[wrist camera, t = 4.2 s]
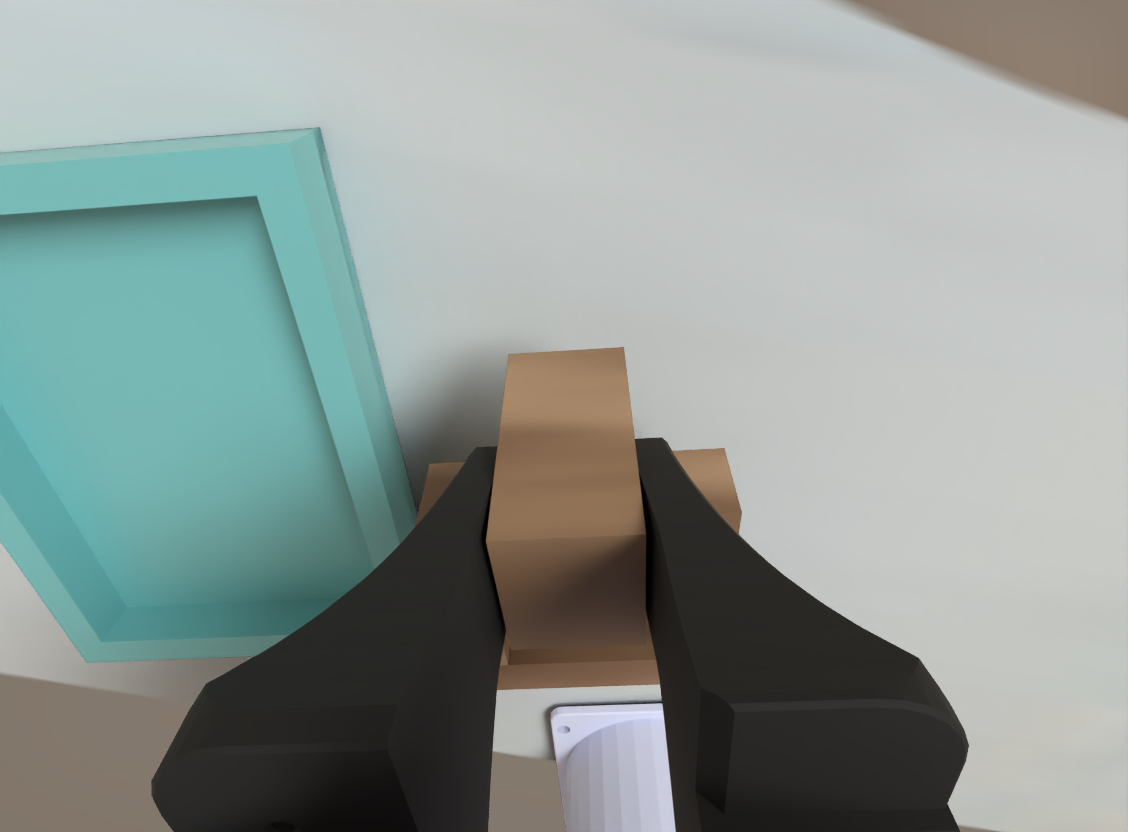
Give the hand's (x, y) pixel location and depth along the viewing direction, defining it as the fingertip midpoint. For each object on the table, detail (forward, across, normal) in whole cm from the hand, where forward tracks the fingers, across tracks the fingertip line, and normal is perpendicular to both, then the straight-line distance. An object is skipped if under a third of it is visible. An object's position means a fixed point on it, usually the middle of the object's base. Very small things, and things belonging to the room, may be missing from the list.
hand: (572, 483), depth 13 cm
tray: (+6, +12, +2) cm, 13 cm away
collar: (+3, 0, +3) cm, 4 cm away
